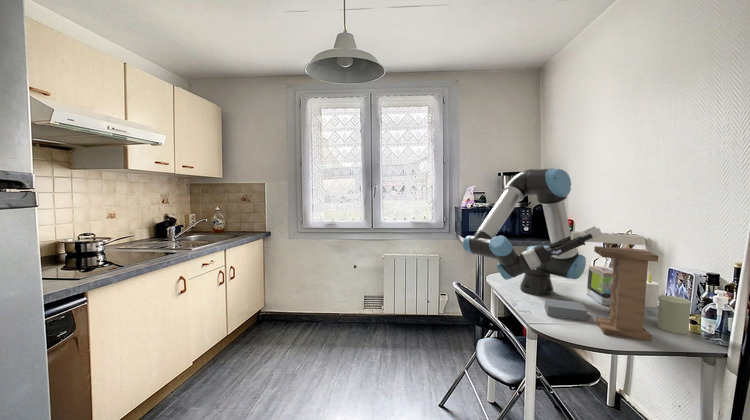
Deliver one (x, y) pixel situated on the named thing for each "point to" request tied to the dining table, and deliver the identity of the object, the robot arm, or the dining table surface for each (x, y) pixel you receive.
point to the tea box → (600, 284)
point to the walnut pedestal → (627, 292)
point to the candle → (651, 293)
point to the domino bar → (613, 238)
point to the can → (674, 314)
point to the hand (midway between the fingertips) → (598, 230)
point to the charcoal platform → (565, 309)
